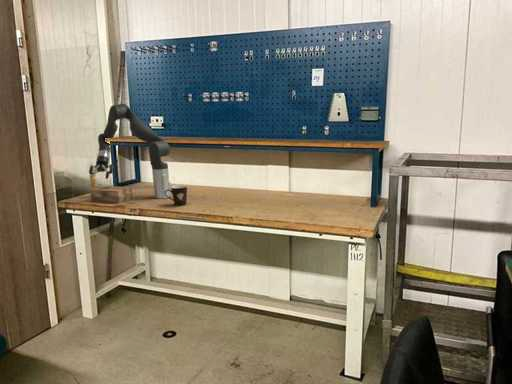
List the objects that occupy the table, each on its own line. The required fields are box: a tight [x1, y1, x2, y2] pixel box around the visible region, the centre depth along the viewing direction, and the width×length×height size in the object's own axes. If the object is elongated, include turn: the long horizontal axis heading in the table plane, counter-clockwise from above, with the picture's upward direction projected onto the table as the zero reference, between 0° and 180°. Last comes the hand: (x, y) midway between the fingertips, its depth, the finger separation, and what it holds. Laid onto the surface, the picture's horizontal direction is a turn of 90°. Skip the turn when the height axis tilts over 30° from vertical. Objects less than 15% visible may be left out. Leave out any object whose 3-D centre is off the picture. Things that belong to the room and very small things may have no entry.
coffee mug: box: [165, 184, 188, 207], centre depth 225 cm, size 12×9×10 cm
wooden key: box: [89, 173, 98, 190], centre depth 252 cm, size 4×4×14 cm
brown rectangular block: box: [89, 185, 133, 204], centre depth 242 cm, size 12×20×7 cm, turn 69°
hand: (99, 178), depth 263 cm, fingers open, 8 cm apart
